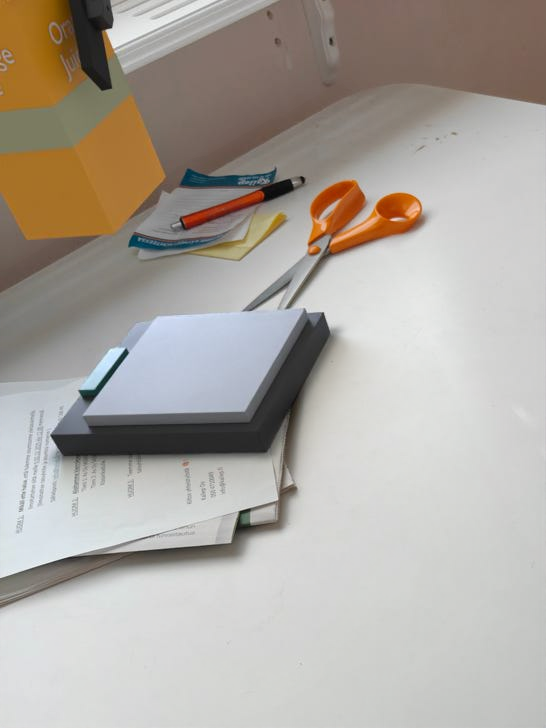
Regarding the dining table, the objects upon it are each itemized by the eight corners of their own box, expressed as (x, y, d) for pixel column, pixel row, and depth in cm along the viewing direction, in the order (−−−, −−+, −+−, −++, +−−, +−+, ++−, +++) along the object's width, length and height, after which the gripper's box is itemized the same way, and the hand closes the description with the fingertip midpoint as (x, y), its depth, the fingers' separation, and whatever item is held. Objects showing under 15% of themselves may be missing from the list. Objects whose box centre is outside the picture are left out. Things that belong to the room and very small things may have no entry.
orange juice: (24, 240, 70) (-159, -94, 55) (81, 183, 75) (-71, -135, 60) (116, 234, 68) (-48, -115, 53) (168, 176, 73) (33, -156, 58)
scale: (62, 455, 76) (42, 424, 74) (146, 341, 86) (131, 311, 84) (266, 452, 71) (252, 419, 69) (330, 332, 81) (320, 300, 79)
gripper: (146, -250, 64) (206, 88, 65) (-158, -170, 66) (-94, 156, 68) (91, -358, 57) (161, 25, 58) (-249, -265, 59) (-176, 104, 60)
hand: (24, 96), depth 63 cm, fingers closed on orange juice, 9 cm apart
